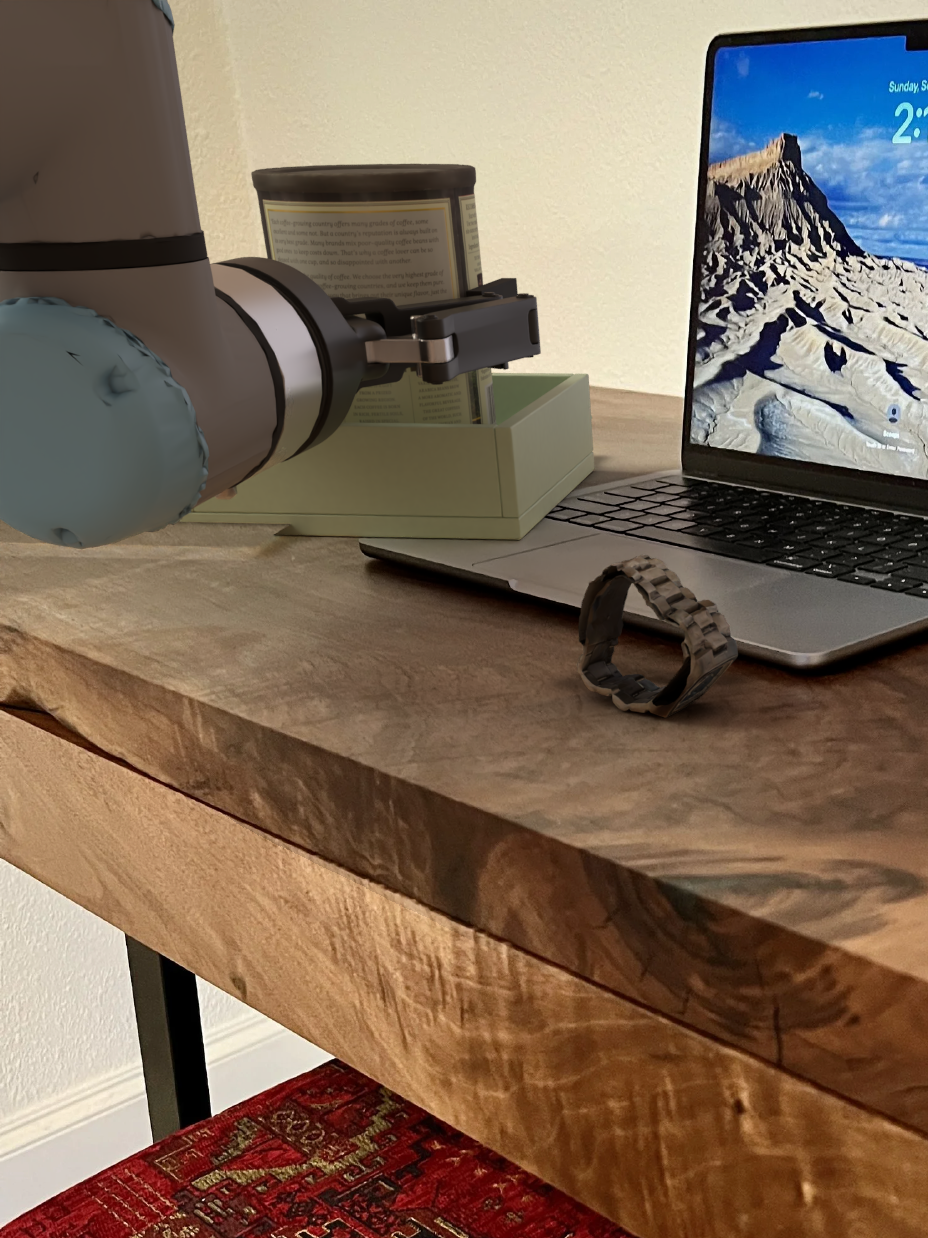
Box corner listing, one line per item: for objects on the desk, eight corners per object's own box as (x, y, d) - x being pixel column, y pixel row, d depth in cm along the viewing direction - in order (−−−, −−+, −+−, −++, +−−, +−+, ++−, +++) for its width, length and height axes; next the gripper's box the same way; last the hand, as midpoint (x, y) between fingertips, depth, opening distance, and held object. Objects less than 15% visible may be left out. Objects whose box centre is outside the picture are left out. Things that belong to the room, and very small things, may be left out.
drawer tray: (181, 533, 76) (160, 423, 74) (307, 465, 91) (293, 370, 88) (521, 540, 75) (511, 427, 72) (595, 469, 89) (588, 373, 87)
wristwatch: (628, 756, 54) (711, 663, 51) (543, 634, 54) (621, 534, 51) (684, 740, 56) (767, 650, 53) (603, 623, 57) (680, 526, 53)
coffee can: (272, 474, 84) (223, 166, 76) (457, 452, 88) (426, 161, 81) (338, 509, 76) (291, 173, 69) (536, 484, 81) (510, 167, 74)
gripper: (-12, 465, 66) (212, 383, 85) (524, 472, 64) (630, 387, 83) (-62, 263, 62) (184, 225, 81) (506, 264, 60) (622, 224, 79)
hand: (409, 306), depth 82 cm, fingers closed on coffee can, 10 cm apart
